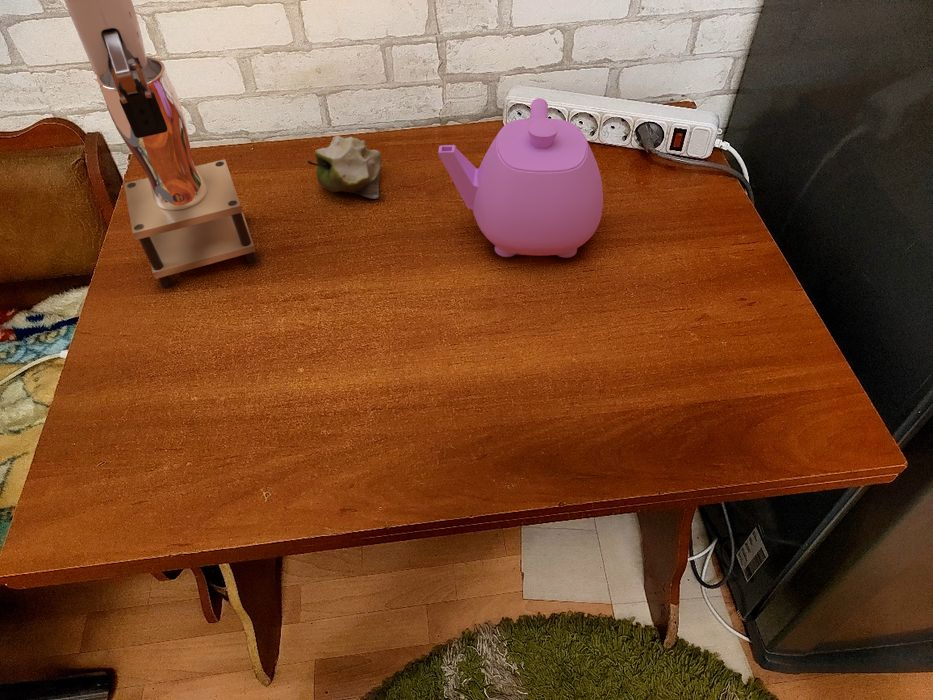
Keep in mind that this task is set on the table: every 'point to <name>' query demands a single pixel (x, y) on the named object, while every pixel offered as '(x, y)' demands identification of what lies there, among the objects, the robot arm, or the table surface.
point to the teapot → (532, 186)
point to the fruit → (349, 167)
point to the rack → (190, 226)
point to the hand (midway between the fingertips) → (146, 110)
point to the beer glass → (160, 141)
